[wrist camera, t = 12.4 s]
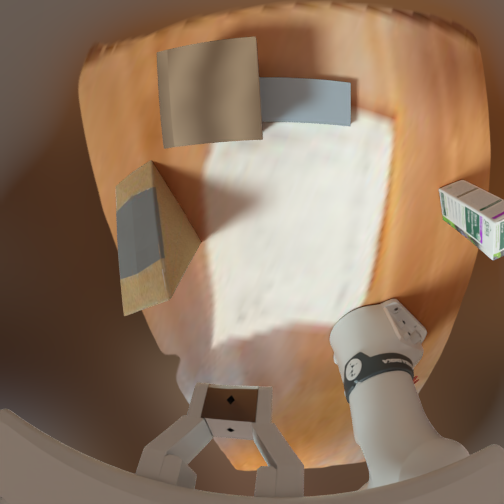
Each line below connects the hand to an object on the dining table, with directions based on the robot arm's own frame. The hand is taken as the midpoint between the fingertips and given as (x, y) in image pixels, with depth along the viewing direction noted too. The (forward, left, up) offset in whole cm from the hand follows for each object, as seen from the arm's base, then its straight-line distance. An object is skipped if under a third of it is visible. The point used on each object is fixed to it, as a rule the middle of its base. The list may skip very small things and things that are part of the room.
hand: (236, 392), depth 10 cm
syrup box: (-27, -15, -31) cm, 44 cm away
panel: (+5, -11, -32) cm, 34 cm away
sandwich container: (+13, +11, -32) cm, 36 cm away
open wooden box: (+11, -9, -31) cm, 34 cm away
